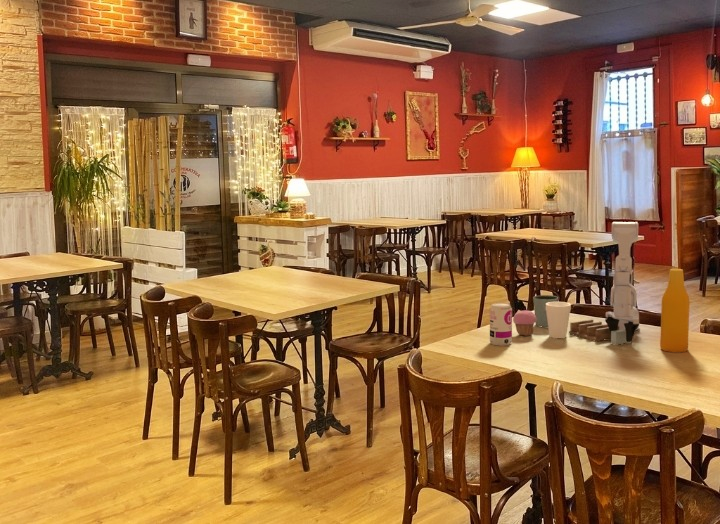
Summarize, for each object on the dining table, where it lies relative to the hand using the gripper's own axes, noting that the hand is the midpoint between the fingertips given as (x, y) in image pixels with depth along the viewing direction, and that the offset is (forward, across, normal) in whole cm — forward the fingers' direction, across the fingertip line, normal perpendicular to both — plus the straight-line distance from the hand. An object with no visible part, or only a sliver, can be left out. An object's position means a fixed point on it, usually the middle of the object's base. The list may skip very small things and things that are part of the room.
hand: (621, 339), depth 269 cm
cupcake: (+2, -29, -22) cm, 36 cm away
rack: (+2, -14, 0) cm, 14 cm away
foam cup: (+2, -20, -13) cm, 24 cm away
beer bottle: (+2, +16, +9) cm, 18 cm away
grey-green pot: (+2, -38, -4) cm, 38 cm away
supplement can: (+2, -23, -38) cm, 44 cm away
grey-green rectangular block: (+2, 0, 0) cm, 2 cm away
